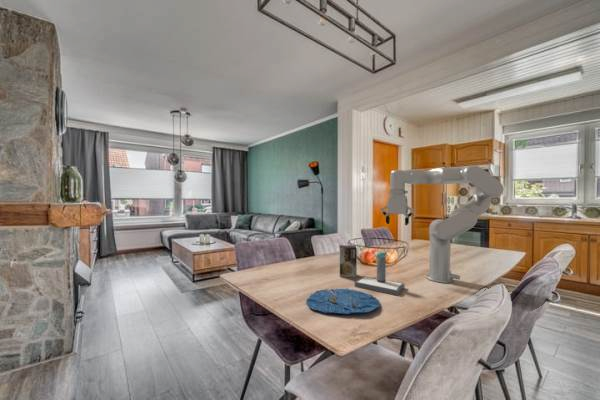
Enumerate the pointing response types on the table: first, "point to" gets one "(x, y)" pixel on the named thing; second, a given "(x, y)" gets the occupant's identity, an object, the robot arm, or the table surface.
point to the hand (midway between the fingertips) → (397, 224)
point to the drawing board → (380, 285)
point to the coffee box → (347, 261)
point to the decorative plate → (342, 301)
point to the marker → (381, 267)
